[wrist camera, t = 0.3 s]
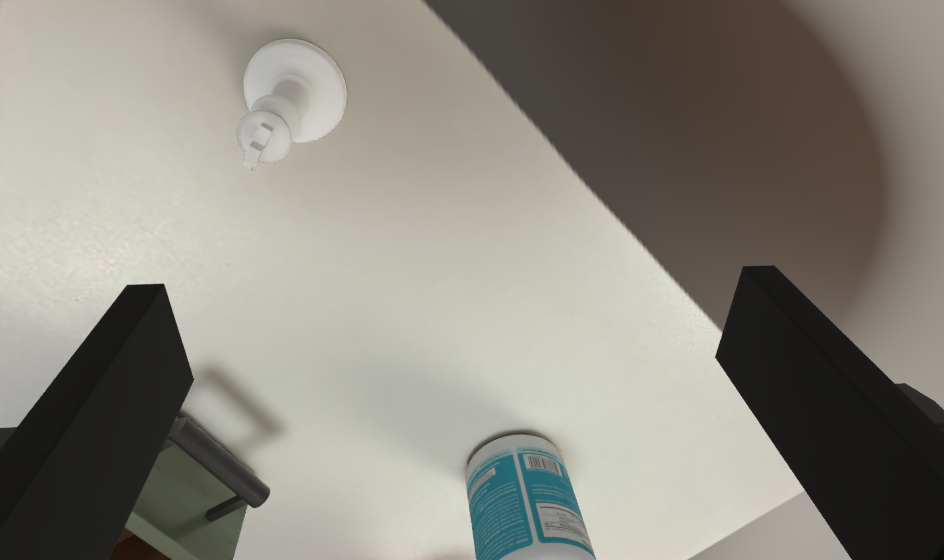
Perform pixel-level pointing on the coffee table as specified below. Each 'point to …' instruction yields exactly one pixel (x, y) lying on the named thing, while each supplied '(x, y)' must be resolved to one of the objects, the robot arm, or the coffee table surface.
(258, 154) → the chess piece
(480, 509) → the pill bottle
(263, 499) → the drawer
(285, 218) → the coffee table surface
